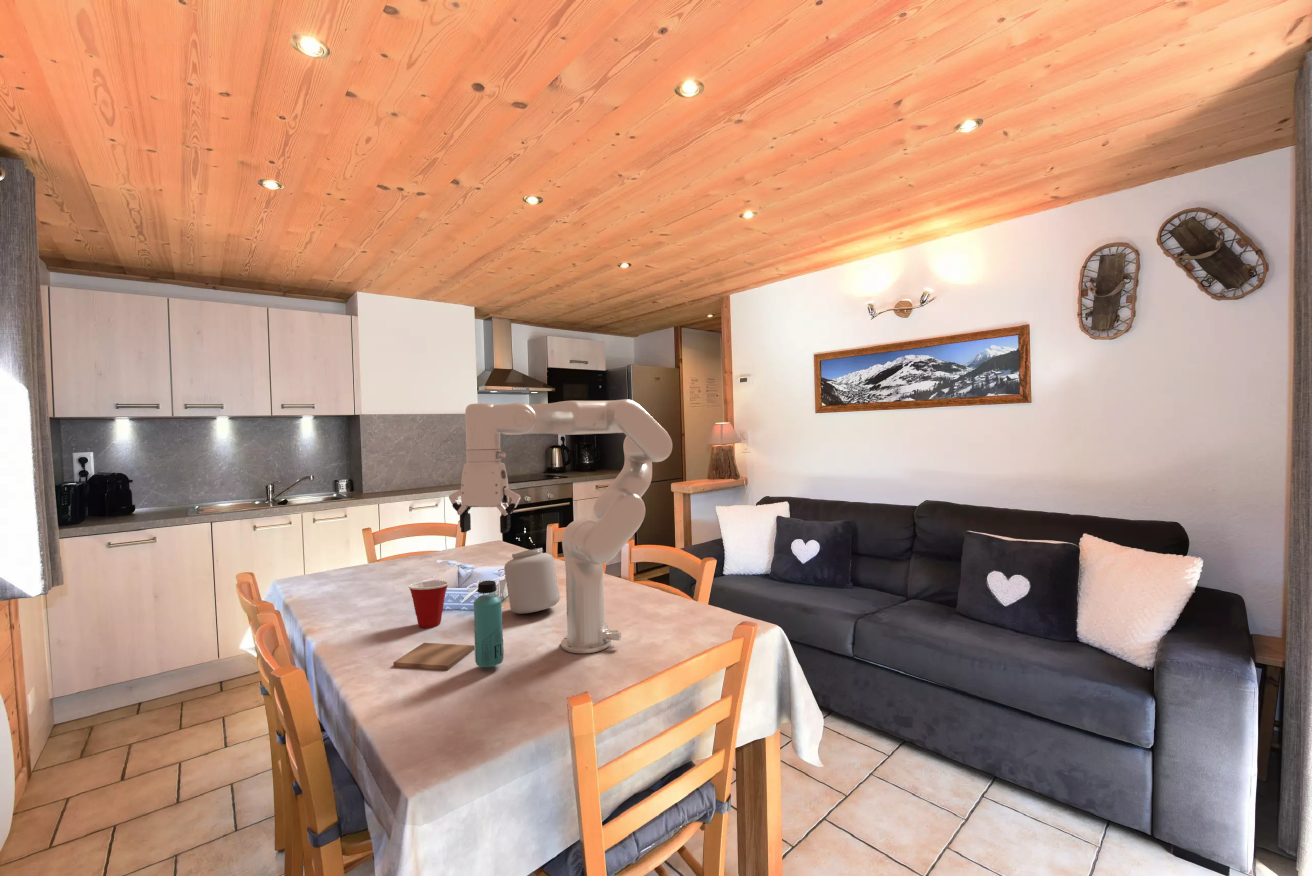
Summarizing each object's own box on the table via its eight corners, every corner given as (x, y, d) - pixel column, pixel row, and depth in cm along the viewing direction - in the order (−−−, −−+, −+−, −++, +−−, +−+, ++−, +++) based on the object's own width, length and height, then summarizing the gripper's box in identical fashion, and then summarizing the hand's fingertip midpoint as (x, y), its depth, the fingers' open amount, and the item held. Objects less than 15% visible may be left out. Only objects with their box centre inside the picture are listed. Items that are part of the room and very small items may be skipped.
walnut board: (474, 649, 140) (474, 645, 140) (448, 670, 128) (447, 665, 128) (424, 646, 143) (423, 642, 143) (393, 666, 131) (393, 662, 131)
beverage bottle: (496, 675, 125) (493, 586, 125) (469, 673, 126) (466, 585, 126) (509, 662, 131) (507, 578, 131) (483, 661, 133) (481, 577, 132)
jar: (491, 612, 169) (488, 529, 168) (528, 599, 181) (526, 522, 180) (532, 624, 157) (530, 535, 157) (570, 609, 169) (568, 527, 169)
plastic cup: (456, 618, 164) (455, 577, 163) (439, 631, 153) (437, 588, 153) (421, 617, 165) (420, 577, 164) (401, 631, 154) (400, 587, 154)
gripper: (525, 456, 130) (527, 529, 130) (457, 456, 133) (459, 528, 134) (511, 458, 123) (513, 535, 123) (440, 458, 126) (441, 534, 126)
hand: (485, 531), depth 128 cm, fingers open, 9 cm apart
